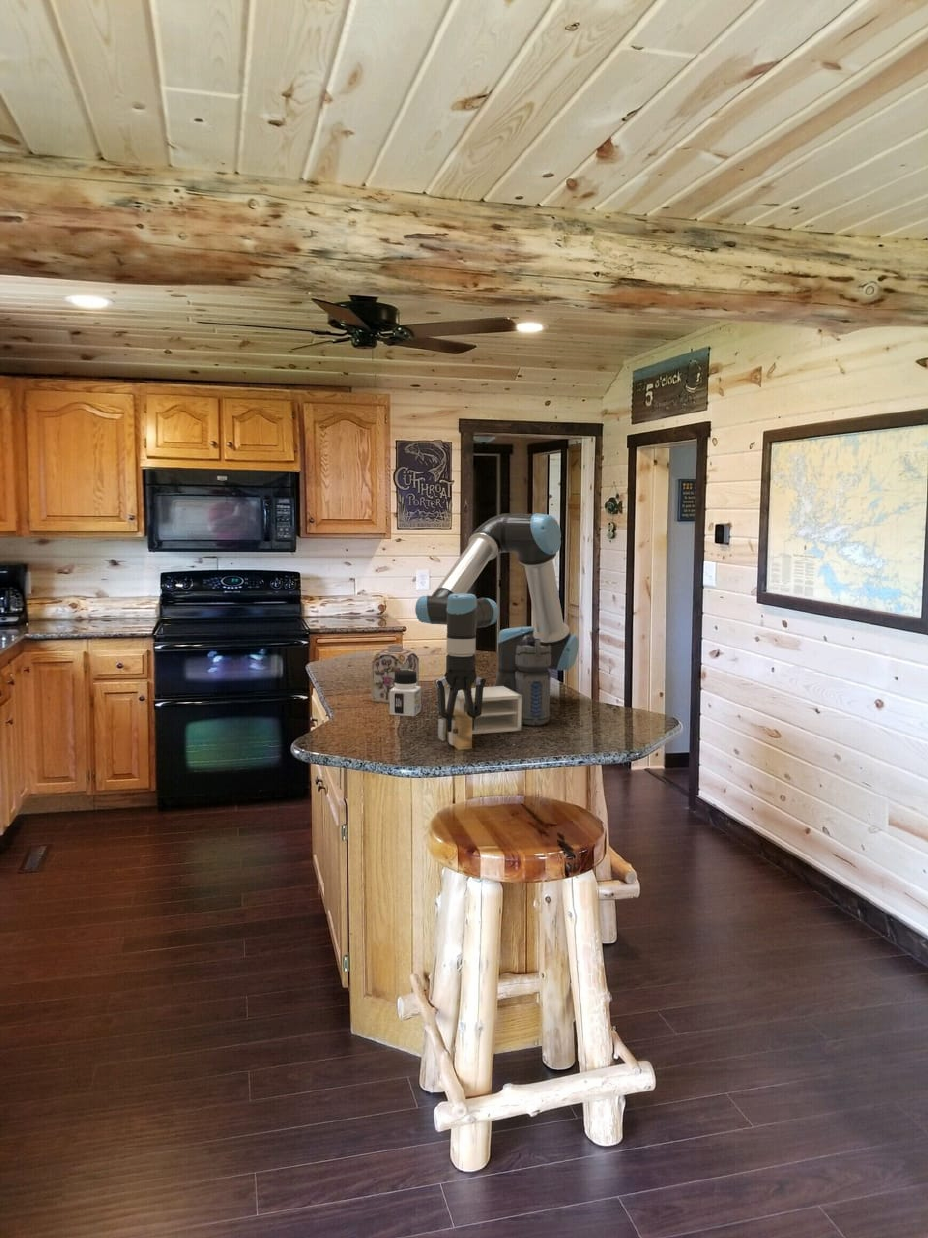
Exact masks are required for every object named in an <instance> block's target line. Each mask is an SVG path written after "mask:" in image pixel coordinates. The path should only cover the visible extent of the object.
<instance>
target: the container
mask: <svg viewBox="0 0 928 1238" xmlns="http://www.w3.org/2000/svg"><path fill="white" fill-rule="evenodd" d="M421 699H422V687H421V686H420V685H419V686H416V672H415V671H413V670H398V671H396V672H395V687H394V688H392V689H391V690H390V703H389V715H390V716H400V717H401V716H403V717H415V716H417V715H418V714H419V713H420V712H421V710H422V706H421V705H422V700H421Z"/></svg>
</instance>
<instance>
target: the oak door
mask: <svg viewBox="0 0 928 1238" xmlns="http://www.w3.org/2000/svg"><path fill="white" fill-rule="evenodd" d="M443 719H444V721H445V722H446V719H445V718H443ZM452 719H454V720H455V729H453V734H455V745H452V746H453V747H455V748H456V749H457V750H458V751H462V750H472V749H473V734H472V718H471V717H470V716H468V715H467V714H465V713H464V712H462V711H461V710H459V709H458V708H454V713H453V718H452ZM445 741H447V742H448V743H449V732H447V731H446V727H445Z"/></svg>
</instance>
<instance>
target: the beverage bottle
mask: <svg viewBox="0 0 928 1238" xmlns="http://www.w3.org/2000/svg"><path fill="white" fill-rule="evenodd" d="M534 644H535V645H534ZM515 661H516V665H517V667H518V669H519V670H517V671H516V672H515V692H516V693H518V694H520V695H522V715H521V725H524V726H532V727H533V726H534V727H535V726H542V725H545V724H547V723H548V722H549V721H550V715H551V713H550V712H551V677H552V675H551V674H552V673H551V671H549V670H550V669H549V667H550V666H551V646H550V645H549V646H548V647H545V646H540V639H535V641H534V638H532V637H531V636H530V637H526V639H525V646H519V645H518V646H517V649H516V656H515Z"/></svg>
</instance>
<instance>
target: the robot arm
mask: <svg viewBox="0 0 928 1238" xmlns="http://www.w3.org/2000/svg"><path fill="white" fill-rule="evenodd" d="M561 538H562V533H561V528H560V526H559V523H558V521H557V520H556V518H555V517H553V516H552V515H551V514H545V513H544V514H543V513H539V512H537V513H501V514H498V515H495V516H493V517H491V518H489V519H488V520H487V521H485V522H484V523H482V524H481V525H480V526H478V528H476V529H475V530H474V532H473V533H472V534H471V535H470V537H469V538H468V542H467V543H468V544H467V547H466V548H465V549H464V551H463V552H462V553H461V554H460V556H459V557H458V558H457V560H456V562H455V563H454V564H453V566H452V567H451V569H450V570H449V571H448V573H447V574H446V575H445V576H444V578H443V579H442V581H441V582H440V584H439V585H438V586H437V588H436V589H435V590H434V591H433V593H432V595H430V594H429V595H428V594H426V595H421V596H419V598H417V601H416V603H415V606H414V607H415V608H414V609H415V610H414V611H415V612H414V613H415V615H416V618H417V620H418V621H419V622H421V623H425V624H430V625H442V626H443V625H446V651H445V652H446V653H447V655H446V656H445V658H446V660H445V661H446V662H445V669H446V670H445V673H444V676H443V677H441V678H439V679H438V678H436V679H435V680H434V683H435V686H436V688H437V689H436V690H437V707H438V708H437V709H438V711H437V712H438V716H439V718H441V719H444V718H445V719H446V731H447V732H449V742H448V743H449V745H450V746H453V745H455V734H453V729H455V720H454V719H452V718H453V713H454V708H455V702H456V697H457V694H458V691H459V690H463V692H464V697H465V703H466V709H467V715H468V716H470V717H471V718H472V731H473V730H474V719H475V718H476V717H477V716H480V715H481V712H482V699H483V687H485V684H486V683H487V679H486V678H484V677H481V676H478V675H477V672H476V655H475V653H476V652H477V647H476V646H477V645H476V644H477V643H476V642H477V640H476V639H477V638H476V637H477V629H479V628H486V627H488V626H491V625H493V624H495V623H496V621H497V620H498V618H499V615H500V610H499V606H498V604H497V603H496V602H495V601H494V600H493V599H491V598H488V597H480V598H477V596H476V595H475V594H473V593H468V591H469V590H470V589H471V587H472V586H473V584H474V583H475V581H476V580H477V579H478V577H479V576H480V574H481V573H482V572H483V570H484V568H485V567H486V565H488V562H489V561H492V560H494V559H495V558H496V557H497V556H498V555H499V554H502V553H514V554H516V555H517V560H518V562H519V564H521V565H523V566H524V570H525V577H526V580H527V586H528V591H529V596H530V601H531V605H532V611H533V616H534V621H535V622H534V623H535V628H534V626H516V627H509V628H504V629H501V630H500V631H499V633H498V639H497V673H496V677H495V680H494V683H493V686H504V687H506V688H508V689H510V690H512V691H514V692H515V672H516V671H517V670H519V669H518V667H517V665H516V661H515V656H516V649H517V646H518V645H519V646H525V639H526V637H530V636H531V637H532V638H534V641H535V639H540V646H545V647H548V646H549V645H550V646H551V666H550V667H549V669H548V670H556V671H557V672H558V671H569V670H571V669H572V668H573V667H574V665H575V664H576V660H577V657H578V653H579V648H580V647H579V646H580V644H579V642H580V641H579V637H578V635H576V634H574V633H572V634H571V631H570V627H569V625H568V624H567V623H565V622H564V619H563V612H562V608H561V607H562V606H561V603H560V598H559V597H560V595H559V590H558V584H557V579H556V573H555V567H554V562H553V560H554V559H555V558H556V556H557V553H558V552H559V551H560V548H561V544H562V541H561ZM534 645H535V644H534ZM446 683H447V684H448V686H449V688H448V689H449V698H448V704H447V709H446V706H445V689H446V688H445V687H446ZM474 683H475V684H476V685H475V687H476V690H475V704H474V708H473V701H472V695H471V693H472V691H471V688H472V685H473V684H474ZM493 686H492V687H493Z"/></svg>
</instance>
